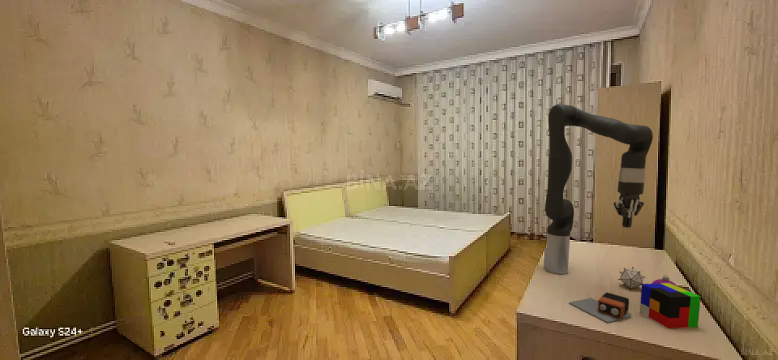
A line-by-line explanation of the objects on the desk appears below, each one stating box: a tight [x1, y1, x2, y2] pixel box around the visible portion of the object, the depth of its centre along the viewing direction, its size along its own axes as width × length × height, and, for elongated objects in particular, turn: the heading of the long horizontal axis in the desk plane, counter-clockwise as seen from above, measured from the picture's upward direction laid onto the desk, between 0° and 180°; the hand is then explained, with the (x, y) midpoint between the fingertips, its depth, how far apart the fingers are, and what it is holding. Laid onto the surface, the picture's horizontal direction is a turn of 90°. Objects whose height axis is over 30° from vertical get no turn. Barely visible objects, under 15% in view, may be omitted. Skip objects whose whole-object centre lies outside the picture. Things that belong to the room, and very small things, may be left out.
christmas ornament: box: [651, 274, 679, 287], centre depth 114 cm, size 8×8×10 cm
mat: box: [568, 297, 632, 324], centre depth 107 cm, size 14×11×1 cm
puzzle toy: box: [639, 283, 702, 329], centre depth 101 cm, size 10×10×10 cm
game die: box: [617, 266, 646, 291], centre depth 126 cm, size 9×8×10 cm
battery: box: [597, 292, 630, 319], centre depth 105 cm, size 4×7×10 cm
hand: (626, 227), depth 115 cm, fingers closed
